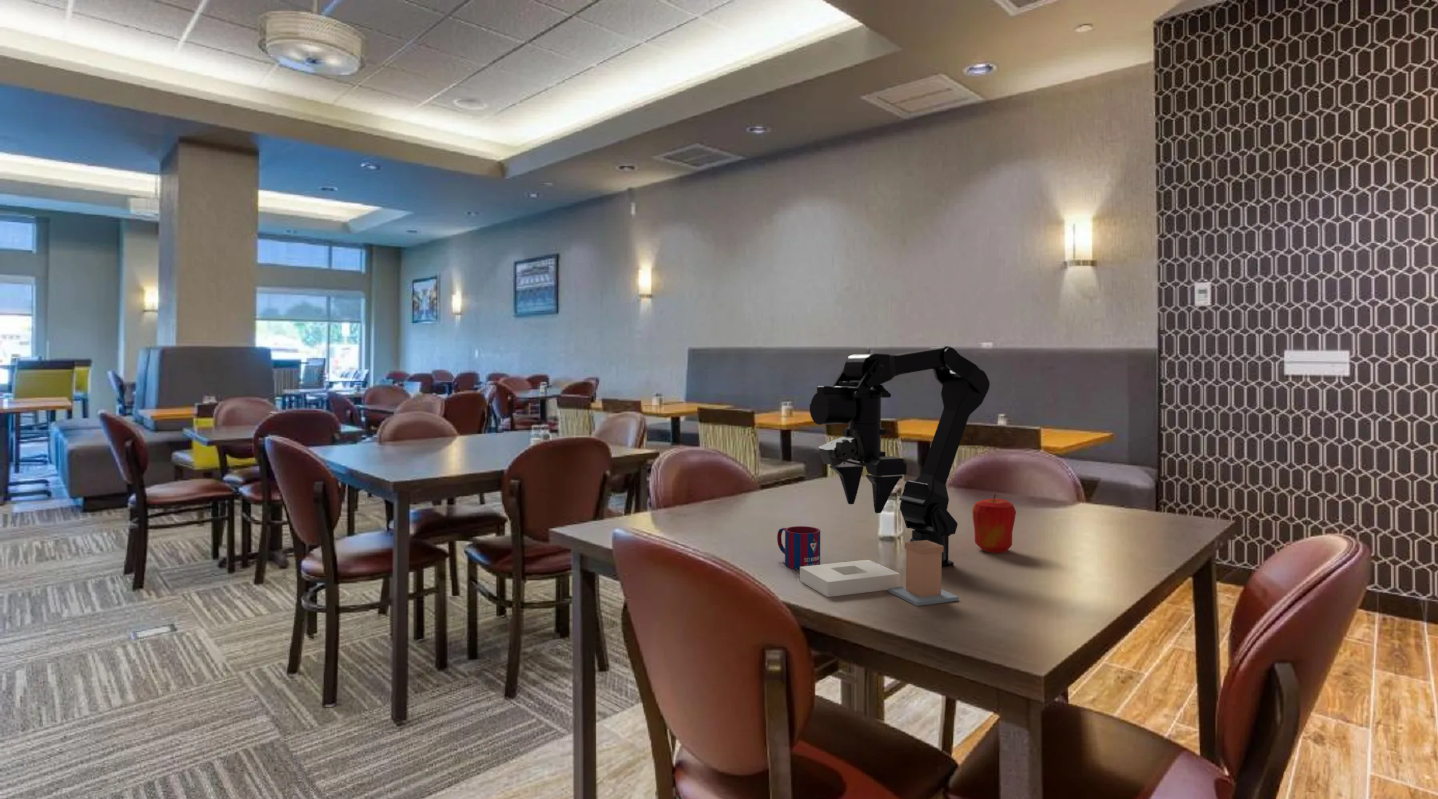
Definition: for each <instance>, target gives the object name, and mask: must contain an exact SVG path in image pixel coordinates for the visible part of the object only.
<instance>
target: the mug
mask: <svg viewBox="0 0 1438 799" xmlns="http://www.w3.org/2000/svg"><path fill="white" fill-rule="evenodd" d="M783 532H784V545H783V540H782V535H783ZM776 541H777V545H778V549H779V550H780V551H781V552H782V554H784V566H785V567H787V568H790V569H795V570H800V567H803V566H812V565H821V529H820V528H818V527H814V526H807V525H804V526H803V525H797V526H796V525H795V526H789V527H781V528H779V529H778V532H777V535H776Z"/></svg>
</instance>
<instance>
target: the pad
mask: <svg viewBox="0 0 1438 799" xmlns="http://www.w3.org/2000/svg"><path fill="white" fill-rule="evenodd" d="M887 592H888V593H890V594H892V595H894V596H896V597H898V598H900V599H902V600H904V601H906V602H908V603H910V604H912V605H914V606H916V607H920V606H925V605H926V606H928V605H934V604H935V605H937V604H943V603H949V602H957V601H959V600H960V599H959V598H960V597H959V596H958V595H955V594H953V593H951V592H948V591H946V590H944V589H942V588H941V594H940V595H933V596H925V597H919V596H917V595H915V594H913V593H911V592H909V591H907V590H906V585H905V586H900V587H895V588H888V590H887Z"/></svg>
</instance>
